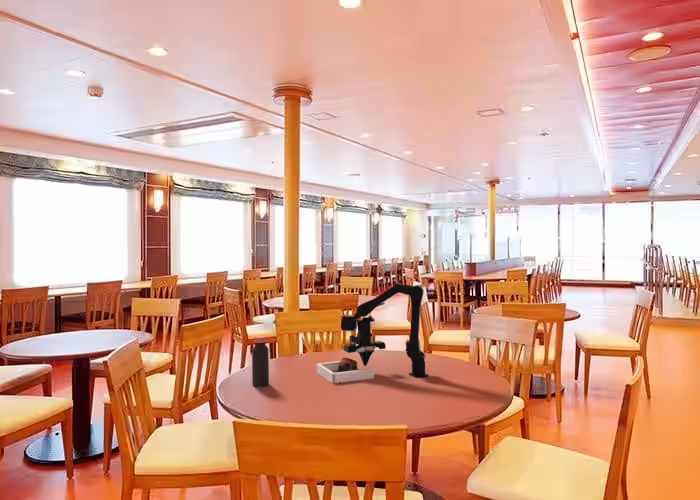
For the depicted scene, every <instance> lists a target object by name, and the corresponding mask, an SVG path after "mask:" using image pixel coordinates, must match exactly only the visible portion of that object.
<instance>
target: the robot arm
mask: <svg viewBox="0 0 700 500" xmlns="http://www.w3.org/2000/svg"><path fill="white" fill-rule="evenodd" d="M424 292H425V290H424V287H422V286H421V285H420V284H415V285H410V284H404V283H400V282H397V283H394V284H393V285H392V286H391V287H390V288H388V289H387V290H385V291H384V292H382V293H381V294H379V295H377V296H376V297H374V298H373V299H370V300H366V301H365V302H362V303H360V304H359V305H358V306H357V307H356V312H355V314H354V315H353V316H351V315H342V316H341V317H342V318H341V323H340V329H341V331H342V332H355V331H356V330H357V332H356V336H355V335H349V343H346V344H344V345H343V352H346V353H349V354H350V353H358V355H359V357H360V358H361V361H362V364H363V366H364V367H366V366H367V365H368V363H369V360H370V358H371V357H372V354H373V353H375V350H374V349H375V348H378V349H379V350H385V349H387V348H386V347H387V345H386V343H385V342H384V341H381V340H375V341H372V337H373V333H372V331H371V330H372V328H371V327H372V325H371V322H372V323H373V322H375V321H376V319H375V318H374V317H373V316H372V315H370V313H372V312H373V311H374V310H375V309H376V308H377V307H378V306H379V305H381V304H383V303H384V302H386V301H387V300H389V299H390V298H392V297H393V296H396V294H398V293H400V294H403V295H407V296H409V298H410V303H411V314H410V315H411V316H410V317H411V318H410V331H409V332H410V333H409V334H410V335H409V339H406V341H405V350H404V352H406V355H407V357H408V358H409V359H410V360H411V372H408V375H410V376H412V377H414V378H421V377H429V374H428V373H426V361H425V359H426V354H425V353H424V351H422V349H421V343H420V342H421V341H420V319H421V306H422V301H423V297H424ZM369 315H370V316H369ZM367 316H369V317H367ZM361 318H362V319H361Z"/></svg>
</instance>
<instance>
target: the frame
mask: <svg viewBox="0 0 700 500" xmlns="http://www.w3.org/2000/svg"><path fill="white" fill-rule="evenodd" d="M354 360H355V361H356V362H357V360H356V359H354ZM340 361H341V360H338V361H331V362H330V361H329V362H320V363H316V364H315V365H316V366H315V368H316V369H315V370H316V372H317V373H316V374H318V375H319V374H320V376H321V377H322V376H323V377H322V378H324V379H325V378H326V379H325V380H327V381H328V382H330V383H331V382H332V383H331V384H339V382H341V383H347V382H355V381H364V380H371V379H373V380H374V379H375V368H367V369H357V370H355V369H354V370H353V371H347V372H338V373H336V371H337V369H338V366H339V364H338V363H339V362H340Z"/></svg>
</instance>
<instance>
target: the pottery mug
mask: <svg viewBox="0 0 700 500" xmlns="http://www.w3.org/2000/svg"><path fill="white" fill-rule="evenodd" d="M355 360H356V359H352V358H349V357H342V358H341V360H339V361H340V362H339V363H338V364H339V366H338V369H337V371H335V373H338V372H347V371H355V370H358V362H357V360H356V361H355Z"/></svg>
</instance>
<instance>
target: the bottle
mask: <svg viewBox="0 0 700 500" xmlns="http://www.w3.org/2000/svg"><path fill="white" fill-rule="evenodd" d="M253 338H254V339H253V341H254V346H253V347H252V350H251V369H252V370H251V374H252V375H251V378H252V379H251V382H252V386H253V385H254V386H253V387H257V386H262V387H265V386H264V385H267V384H268V385H269V384H270V371H269V370H270V367H269V366H270V364H269V363H270V361H269V358H270V354H269V353H270V352H269V350H270V349H269V347H268V346H267V345H266V343H267V336H266V335H256V336H254V337H253ZM268 385H267V386H268Z"/></svg>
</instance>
